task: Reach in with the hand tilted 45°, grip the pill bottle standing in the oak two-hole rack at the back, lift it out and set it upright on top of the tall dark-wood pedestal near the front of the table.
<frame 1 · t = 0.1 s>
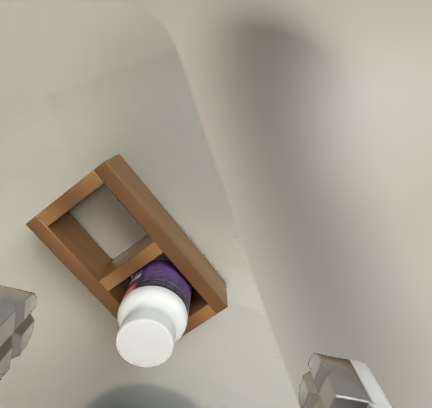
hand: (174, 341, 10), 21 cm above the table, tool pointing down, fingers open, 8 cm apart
rack: (140, 247, 32), on the table
pill bottle: (165, 274, 33), resting in rack
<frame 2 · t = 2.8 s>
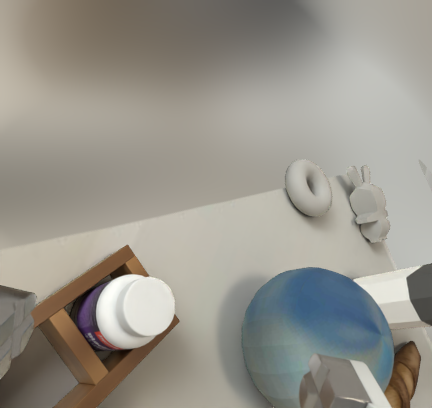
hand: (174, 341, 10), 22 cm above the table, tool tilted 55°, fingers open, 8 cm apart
bunny figurine: (355, 207, 67), on the table
bread: (367, 406, 49), on the table
rack: (64, 348, 28), on the table
donut: (300, 191, 57), on the table
wine bottle: (351, 305, 55), on the table
pill bottle: (99, 318, 30), resting in rack
decorative ball: (261, 343, 41), on the table
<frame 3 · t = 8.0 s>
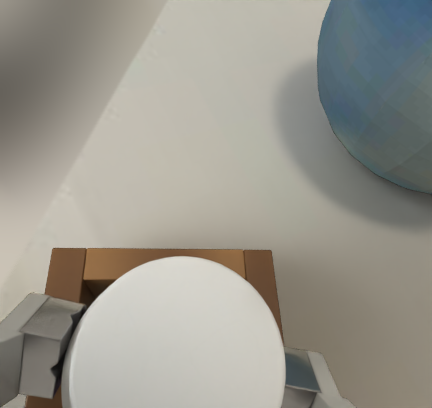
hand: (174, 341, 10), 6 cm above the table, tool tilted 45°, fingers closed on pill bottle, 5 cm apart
pill bottle: (162, 371, 15), resting in rack, touching gripper
decorative ball: (380, 143, 24), on the table
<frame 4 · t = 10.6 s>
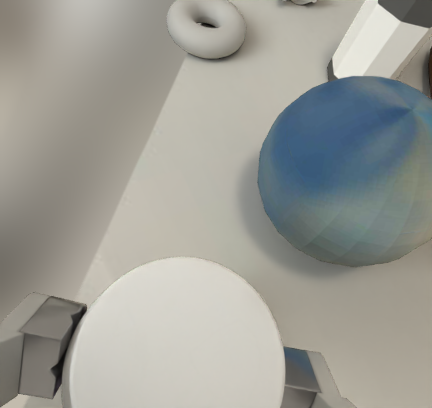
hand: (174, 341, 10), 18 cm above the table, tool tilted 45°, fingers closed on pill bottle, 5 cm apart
donut: (204, 38, 44), on the table
wine bottle: (353, 82, 45), on the table
pill bottle: (162, 371, 15), point 12 cm above the table, touching gripper
decorative ball: (310, 213, 34), on the table
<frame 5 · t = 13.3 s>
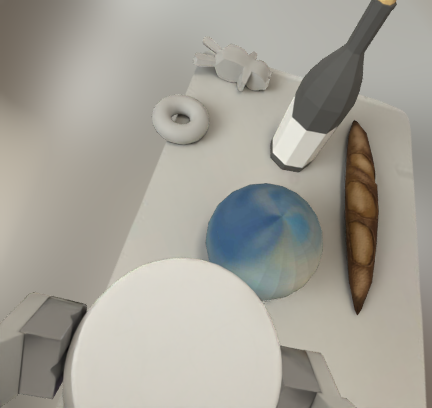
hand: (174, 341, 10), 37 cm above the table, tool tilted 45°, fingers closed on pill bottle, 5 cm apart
bunny figurine: (231, 75, 68), on the table
bread: (352, 204, 59), on the table
donut: (180, 126, 60), on the table
wine bottle: (289, 154, 61), on the table
pill bottle: (162, 372, 15), point 30 cm above the table, touching gripper
decorative ball: (248, 259, 51), on the table
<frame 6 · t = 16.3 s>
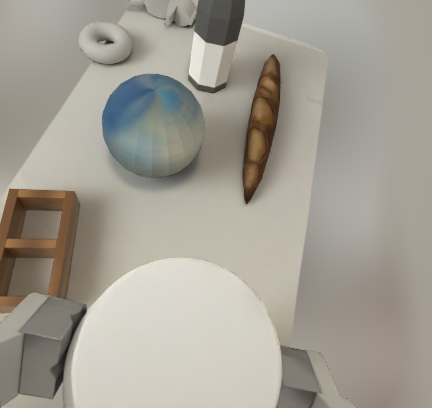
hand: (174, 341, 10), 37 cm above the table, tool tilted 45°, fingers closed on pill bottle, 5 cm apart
bunny figurine: (162, 13, 75), on the table
bread: (260, 122, 65), on the table
rack: (40, 253, 46), on the table
donut: (107, 50, 66), on the table
wine bottle: (207, 79, 68), on the table
pill bottle: (162, 371, 15), point 31 cm above the table, touching gripper
decorative ball: (154, 157, 57), on the table
when the fingers open (32 cm above the table, at t = 18.9 s): pill bottle stays where it is, resting on pedestal.
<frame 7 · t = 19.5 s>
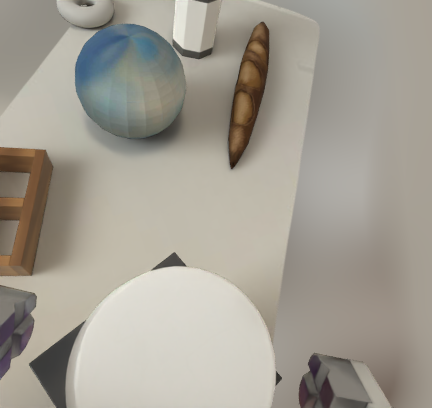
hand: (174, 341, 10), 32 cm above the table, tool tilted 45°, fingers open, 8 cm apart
pedestal: (161, 371, 15), on the table
bread: (248, 88, 62), on the table
rack: (8, 215, 43), on the table
donut: (87, 15, 63), on the table
wine bottle: (192, 45, 65), on the table
pill bottle: (162, 373, 15), point 26 cm above the table, touching pedestal
decorative ball: (134, 121, 54), on the table
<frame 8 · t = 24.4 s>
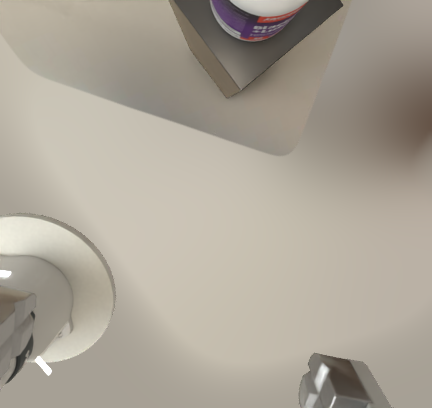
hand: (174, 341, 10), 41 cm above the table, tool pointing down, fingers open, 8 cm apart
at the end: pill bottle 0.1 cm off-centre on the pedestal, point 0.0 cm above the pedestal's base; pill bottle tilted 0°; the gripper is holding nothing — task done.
